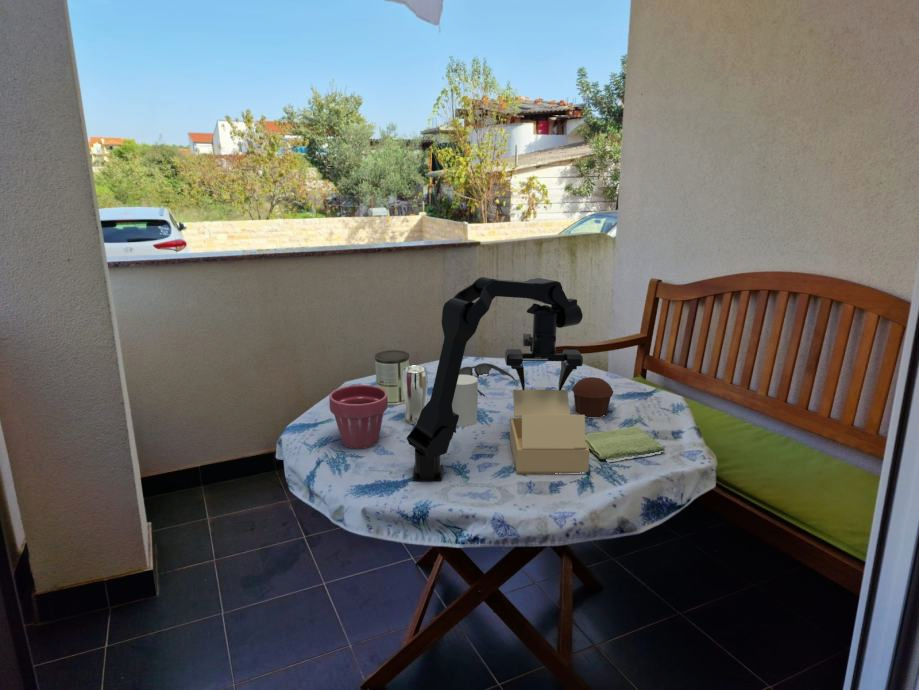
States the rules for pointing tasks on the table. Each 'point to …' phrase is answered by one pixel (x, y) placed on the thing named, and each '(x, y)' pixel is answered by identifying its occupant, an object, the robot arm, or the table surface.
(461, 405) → the off-white closed cylinder
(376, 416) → the plant pot
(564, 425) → the near flap
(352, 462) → the table surface
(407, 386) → the silver metal cylinder
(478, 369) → the sunglasses
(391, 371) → the coffee can
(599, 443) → the washcloth
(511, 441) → the carton
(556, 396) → the far flap
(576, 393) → the muffin
